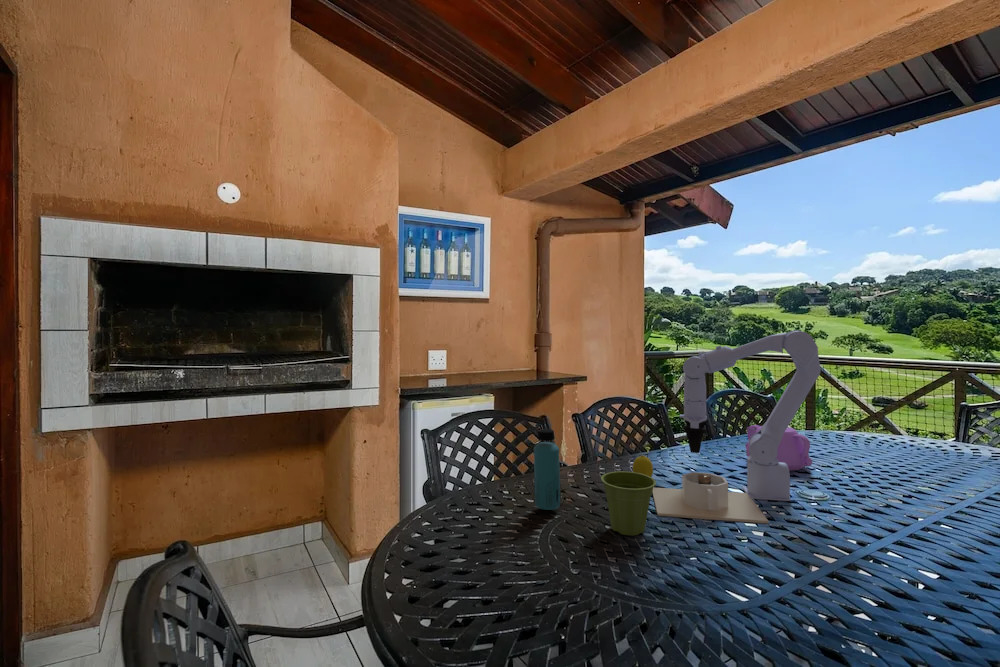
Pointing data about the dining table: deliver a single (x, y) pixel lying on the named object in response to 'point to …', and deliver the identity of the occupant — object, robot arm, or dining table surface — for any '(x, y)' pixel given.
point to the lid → (704, 479)
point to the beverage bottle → (546, 472)
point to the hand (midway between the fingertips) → (695, 448)
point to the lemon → (643, 466)
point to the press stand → (706, 501)
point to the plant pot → (628, 500)
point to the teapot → (788, 448)
